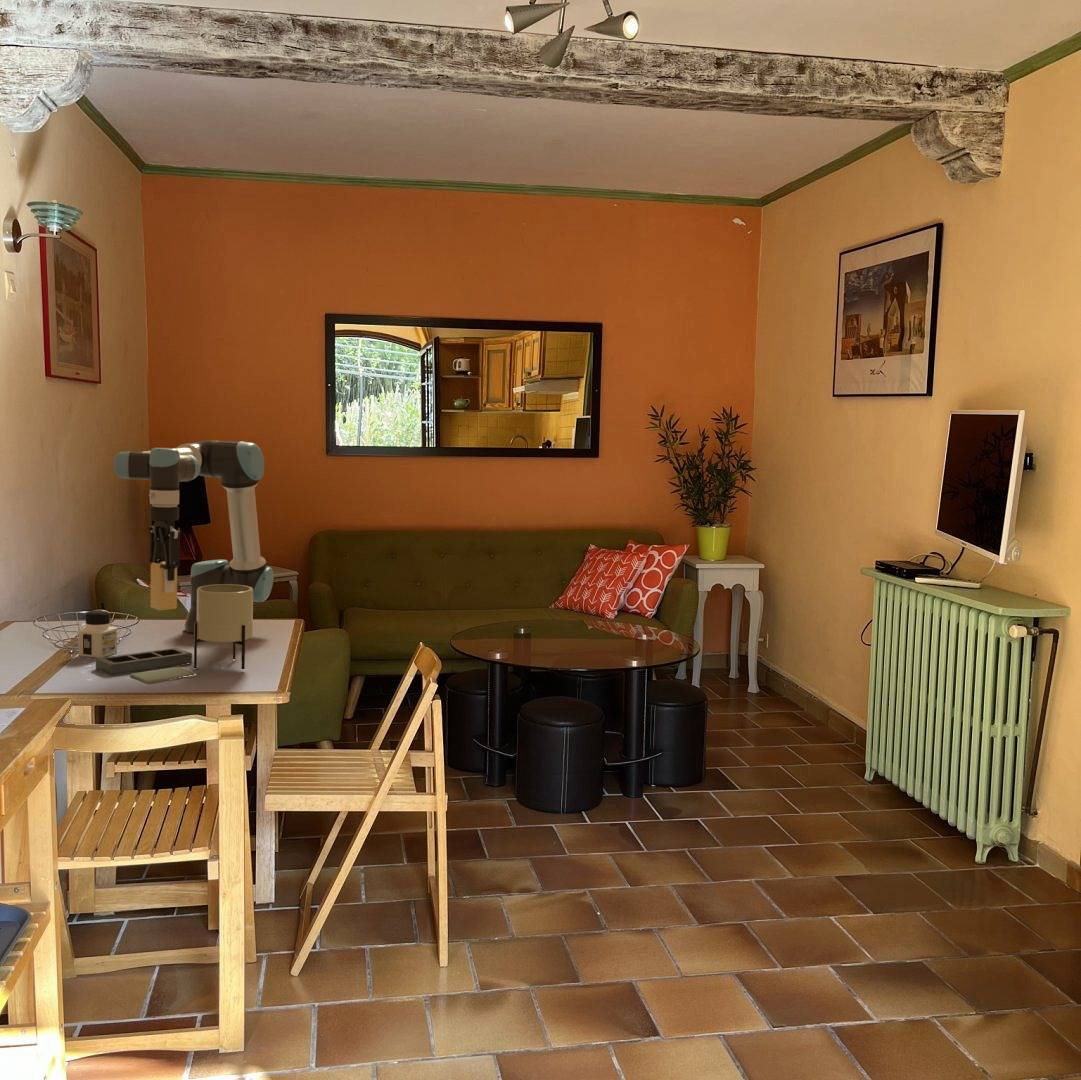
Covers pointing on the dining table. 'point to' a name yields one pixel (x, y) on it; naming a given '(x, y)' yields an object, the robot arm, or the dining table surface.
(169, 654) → the grey compartment tray
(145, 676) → the mat
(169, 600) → the wooden block
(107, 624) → the container
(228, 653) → the dining table surface
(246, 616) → the planter
